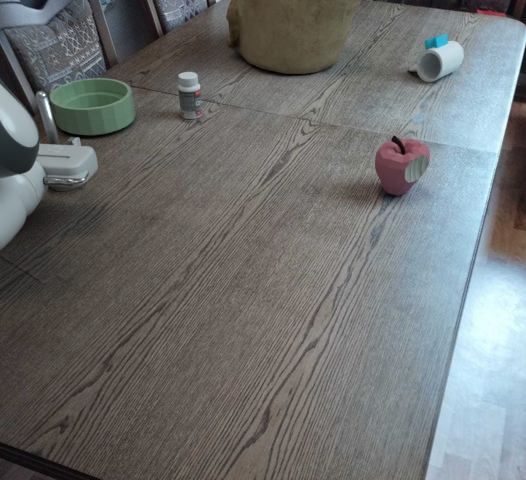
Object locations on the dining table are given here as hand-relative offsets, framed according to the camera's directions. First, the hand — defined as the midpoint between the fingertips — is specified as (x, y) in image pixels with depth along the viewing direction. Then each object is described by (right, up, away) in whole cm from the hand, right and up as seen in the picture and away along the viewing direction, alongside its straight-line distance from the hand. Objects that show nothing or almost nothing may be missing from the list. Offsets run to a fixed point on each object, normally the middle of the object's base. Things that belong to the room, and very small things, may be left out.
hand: (49, 139), depth 93 cm
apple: (+60, -7, +6) cm, 61 cm away
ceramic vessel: (+44, +43, +54) cm, 82 cm away
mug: (+79, +34, +46) cm, 98 cm away
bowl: (0, +14, +26) cm, 29 cm away
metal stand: (0, -5, +7) cm, 9 cm away
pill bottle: (+21, +16, +28) cm, 38 cm away
